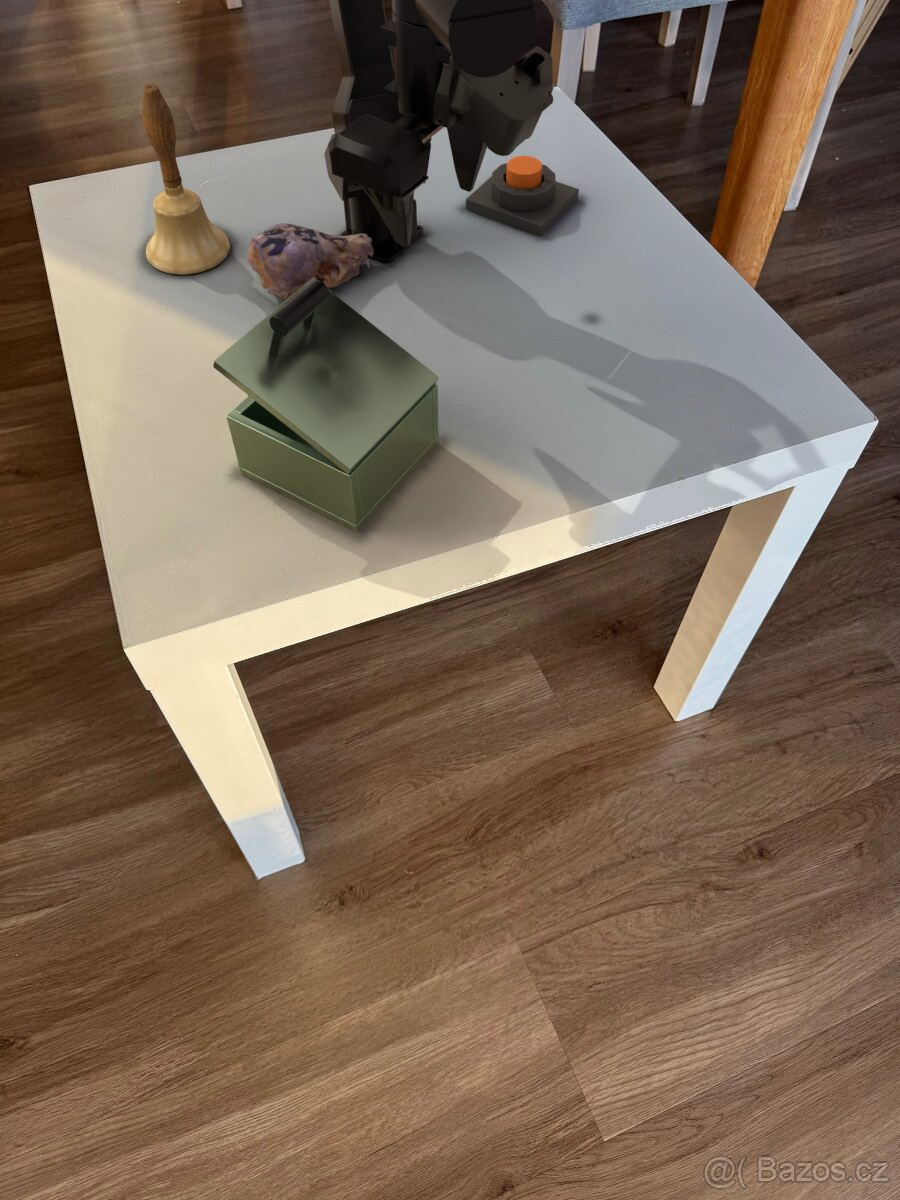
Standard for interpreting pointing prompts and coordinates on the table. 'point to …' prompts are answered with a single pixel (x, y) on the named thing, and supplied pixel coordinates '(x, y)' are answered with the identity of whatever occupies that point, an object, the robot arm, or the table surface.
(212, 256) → the hand bell
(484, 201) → the control block
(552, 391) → the table surface
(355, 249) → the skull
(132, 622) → the table surface
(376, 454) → the green box
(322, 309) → the box lid
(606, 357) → the table surface
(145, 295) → the table surface
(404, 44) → the robot arm
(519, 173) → the button
